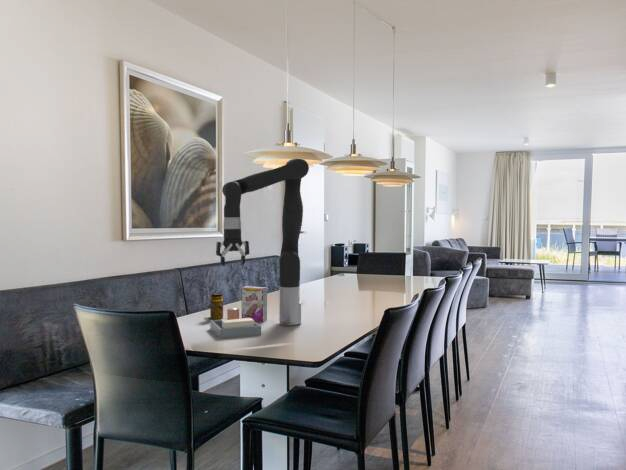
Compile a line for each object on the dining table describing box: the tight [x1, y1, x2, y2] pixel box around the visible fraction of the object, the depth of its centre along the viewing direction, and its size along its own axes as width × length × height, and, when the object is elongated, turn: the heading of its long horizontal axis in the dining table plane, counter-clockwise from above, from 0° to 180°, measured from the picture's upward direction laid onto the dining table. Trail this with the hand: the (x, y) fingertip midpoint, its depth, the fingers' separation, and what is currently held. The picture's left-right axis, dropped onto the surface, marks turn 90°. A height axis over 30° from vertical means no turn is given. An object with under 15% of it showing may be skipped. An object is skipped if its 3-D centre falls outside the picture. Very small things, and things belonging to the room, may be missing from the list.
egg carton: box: [222, 318, 254, 329], centre depth 209 cm, size 12×5×6 cm, turn 113°
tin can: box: [226, 307, 240, 320], centre depth 216 cm, size 5×5×9 cm
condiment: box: [204, 292, 227, 321], centre depth 244 cm, size 7×8×12 cm
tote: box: [209, 317, 262, 340], centre depth 213 cm, size 17×18×4 cm
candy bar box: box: [241, 285, 268, 323], centre depth 236 cm, size 11×5×16 cm, turn 70°
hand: (233, 265), depth 222 cm, fingers open, 8 cm apart
